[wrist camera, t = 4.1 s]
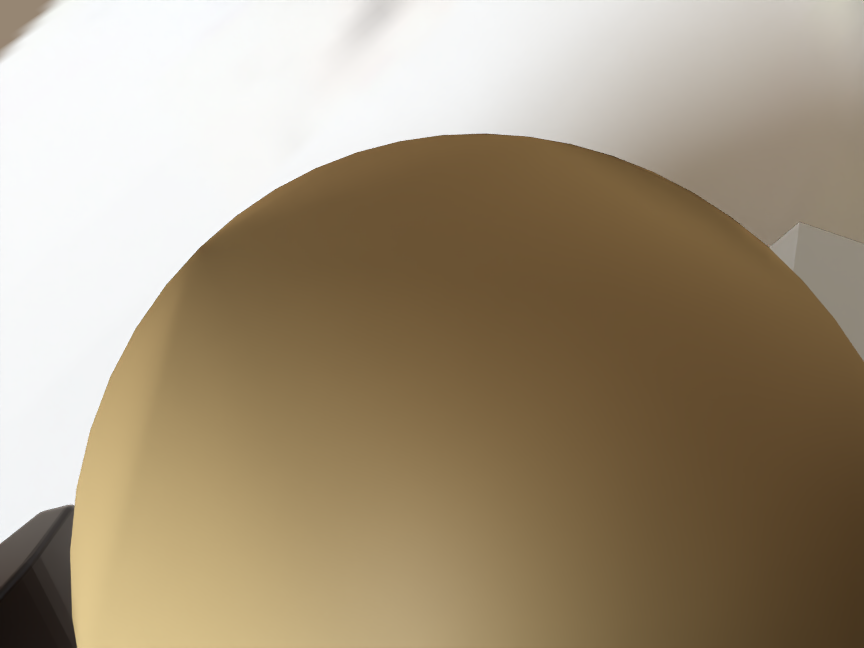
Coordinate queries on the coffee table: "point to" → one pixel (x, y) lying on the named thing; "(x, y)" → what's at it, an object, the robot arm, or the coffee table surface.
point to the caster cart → (829, 274)
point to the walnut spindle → (477, 423)
